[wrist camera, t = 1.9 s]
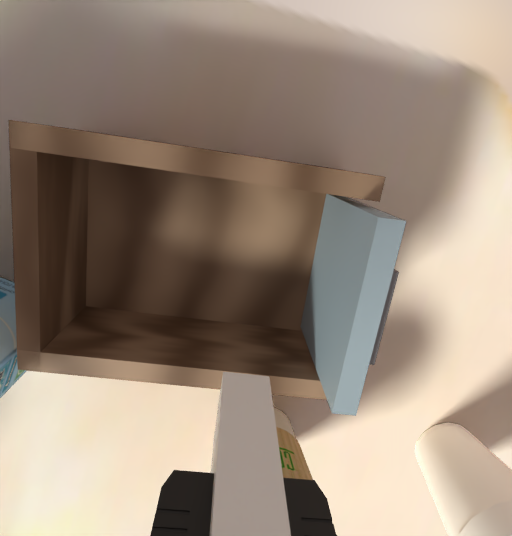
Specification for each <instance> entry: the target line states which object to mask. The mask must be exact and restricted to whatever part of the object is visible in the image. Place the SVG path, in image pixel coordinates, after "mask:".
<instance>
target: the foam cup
mask: <svg viewBox="0 0 512 536" xmlns="http://www.w3.org/2000/svg"><path fill="white" fill-rule="evenodd" d="M415 455H416V459H417V461H418V463H419V466H420V468H421V471H422V473H423V476H424V478H425V481H426V483H427V486H428V488H429V490H430V493H431V495H432V498H433V500H434V503H435V505H436V508H437V510H438V513H439V515H440V517H441V520H442V522H443V525H444V527H445V530H446V532H447V535H448V536H512V470H511V469H510V468H509V467H508V466H507V465H506V464H505V463H503V462H502V461H501V460H500V459H499V458H498V457H497V456H496V455H495V454H494V453H492V452H491V451H490V450H489V449H488V448H487V447H486V446H485V445H484V444H483V443H481V442H480V441H479V440H478V439H477V438H476V437H475V436H474V435H473V434H471V433H470V432H469V431H468V430H467V429H465V428H464V427H462V426H461V425H460V424H455V423H448V422H446V423H442V424H438V425H434V426H432V427H431V428H429V429H428V430H426V431H425V432H423V433H422V435H421V436H420V438H419V439H418V441H417V442H416V446H415Z"/></svg>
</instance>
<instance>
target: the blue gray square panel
mask: <svg viewBox="0 0 512 536" xmlns="http://www.w3.org/2000/svg"><path fill="white" fill-rule="evenodd" d="M405 225H406V221H405V220H402V219H400V218H397V217H395V216H392V215H390V214H387V213H385V212H382V211H380V210H378V209H375V208H373V207H370V206H368V205H365V204H363V203H360V202H358V201H355V200H353V199H350V198H348V197H345V196H338V195H331V194H326V198H325V203H324V209H323V214H322V219H321V224H320V229H319V234H318V239H317V244H316V249H315V255H314V260H313V265H312V270H311V275H310V280H309V285H308V290H307V295H306V301H305V306H304V311H303V316H302V321H301V326H300V327H301V329H302V332H303V335H304V338H305V340H306V343H307V346H308V349H309V351H310V354H311V357H312V360H313V362H314V365H315V368H316V371H317V374H318V376H319V379H320V382H321V385H322V387H323V390H324V393H325V396H326V398H327V401H328V404H329V407H330V409H331V412H332V413H335V414H345V415H356V413H357V409H358V405H359V402H360V398H361V394H362V390H363V386H364V382H365V378H366V375H367V371H368V367H369V364H372V365H374V364H375V360H376V356H377V353H378V349H379V345H380V341H381V338H382V334H383V330H384V326H385V322H386V319H387V315H388V311H389V307H390V304H391V300H392V296H393V292H394V288H395V285H396V281H397V277H398V273H399V272H398V271H397V270H395V269H394V267H395V263H396V259H397V255H398V251H399V248H400V244H401V240H402V236H403V232H404V228H405Z"/></svg>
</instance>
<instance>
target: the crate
mask: <svg viewBox="0 0 512 536" xmlns="http://www.w3.org/2000/svg"><path fill="white" fill-rule="evenodd" d="M9 147H10V174H11V201H12V229H13V256H14V284H15V311H16V338H17V366H18V370H27V371H37V372H48V373H58V374H68V375H78V376H88V377H99V378H109V379H119V380H129V381H139V382H150V383H160V384H170V385H180V386H191V387H201V388H211V389H221V383H222V376H223V372H231V373H241V374H251V375H260V376H269V378H270V386H271V393H272V395H282V396H293V397H303V398H313V399H323V400H327V398H326V396H325V393H324V390H323V387H322V385H321V382H320V379H319V376H318V374H317V371H316V368H315V365H314V362H313V360H312V357H311V354H310V351H309V349H308V346H307V343H306V340H305V338H304V335H303V332H302V329H301V327H300V326H301V321H302V316H303V311H304V306H305V301H306V295H307V290H308V285H309V280H310V275H311V270H312V265H313V260H314V255H315V249H316V244H317V239H318V234H319V229H320V224H321V219H322V214H323V209H324V203H325V198H326V194H331V195H338V196H345V197H351V198H358V199H365V200H372V201H379V202H380V198H381V194H382V190H383V185H384V181H385V177H382V176H376V175H370V174H364V173H358V172H352V171H345V170H339V169H332V168H326V167H319V166H313V165H306V164H299V163H293V162H286V161H280V160H273V159H267V158H260V157H253V156H247V155H240V154H234V153H227V152H220V151H214V150H207V149H201V148H194V147H188V146H181V145H174V144H168V143H161V142H155V141H148V140H141V139H135V138H128V137H122V136H115V135H109V134H102V133H95V132H89V131H82V130H76V129H69V128H62V127H55V126H48V125H41V124H34V123H27V122H20V121H13V120H9Z"/></svg>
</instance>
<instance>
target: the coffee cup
mask: <svg viewBox="0 0 512 536" xmlns="http://www.w3.org/2000/svg"><path fill="white" fill-rule="evenodd" d="M274 415H275V422H276V429H277V437H278V444H279V451H280V459H281V466H282V473H283V478H294V479H306V480H313V479H312V476H311V474H310V471H309V468H308V466H307V463H306V460H305V458H304V455H303V452H302V450H301V447H300V445H299V443H298V441H297V440H296V437H295V435H294V432H293V429H292V426H291V424H290V421H289V419H288V417H287V416H286V415H285V414H284V413H283V412H282V411H280V410H279V409H277V408H275V407H274ZM336 536H337V535H336Z"/></svg>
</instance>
